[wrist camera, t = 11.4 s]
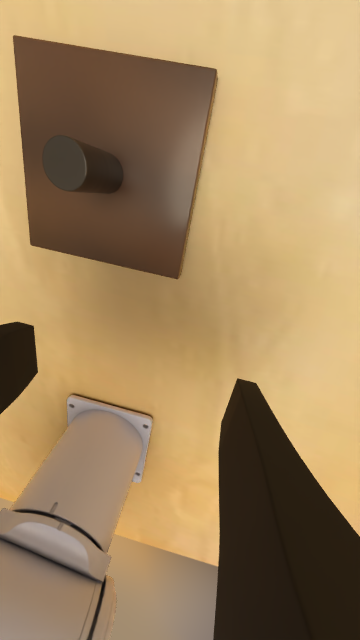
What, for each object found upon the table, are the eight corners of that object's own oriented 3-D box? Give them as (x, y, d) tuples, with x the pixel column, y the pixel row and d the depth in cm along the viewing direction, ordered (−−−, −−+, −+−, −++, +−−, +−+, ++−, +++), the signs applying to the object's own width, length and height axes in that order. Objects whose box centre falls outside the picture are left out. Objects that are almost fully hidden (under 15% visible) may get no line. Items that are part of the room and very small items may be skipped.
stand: (180, 275, 17) (163, 302, 12) (40, 243, 17) (-25, 257, 13) (218, 77, 12) (212, 7, 8) (26, 45, 13) (-79, -36, 9)
